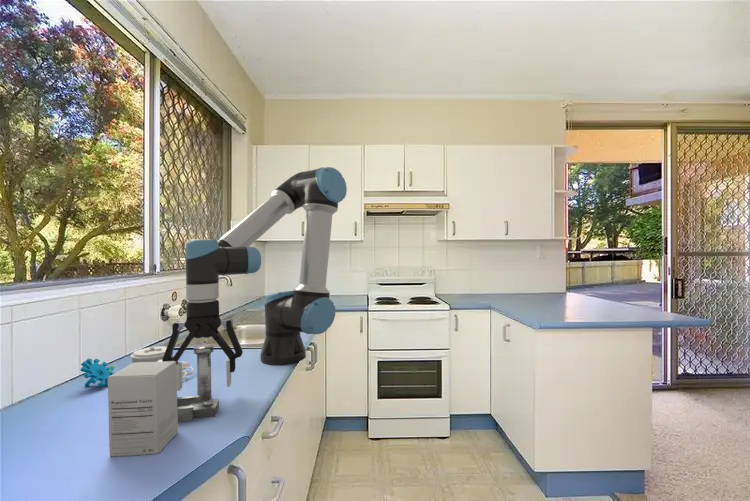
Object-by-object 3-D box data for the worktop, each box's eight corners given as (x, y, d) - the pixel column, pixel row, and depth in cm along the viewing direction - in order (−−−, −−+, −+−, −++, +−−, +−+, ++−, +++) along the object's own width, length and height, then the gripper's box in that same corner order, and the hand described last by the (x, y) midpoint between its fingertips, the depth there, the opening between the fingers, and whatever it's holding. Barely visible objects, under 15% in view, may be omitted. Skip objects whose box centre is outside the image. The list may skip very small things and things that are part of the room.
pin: (216, 395, 100) (215, 344, 100) (212, 401, 96) (211, 348, 96) (197, 396, 99) (195, 345, 99) (192, 403, 95) (191, 350, 95)
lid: (176, 364, 129) (176, 349, 129) (131, 371, 122) (131, 355, 122) (171, 355, 139) (171, 342, 139) (129, 362, 132) (129, 347, 132)
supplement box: (133, 434, 80) (132, 361, 80) (179, 431, 81) (177, 359, 80) (107, 457, 71) (105, 376, 71) (158, 454, 72) (156, 374, 71)
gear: (99, 386, 103) (76, 359, 105) (83, 402, 103) (60, 375, 104) (127, 378, 114) (106, 353, 116) (112, 393, 114) (91, 368, 115)
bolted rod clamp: (219, 405, 93) (219, 393, 93) (214, 418, 86) (214, 405, 86) (142, 413, 90) (141, 400, 90) (129, 427, 83) (129, 413, 83)
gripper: (252, 296, 104) (254, 378, 104) (156, 300, 99) (158, 386, 99) (250, 300, 96) (251, 387, 97) (146, 304, 91) (147, 397, 91)
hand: (204, 387), depth 98 cm, fingers open, 11 cm apart
